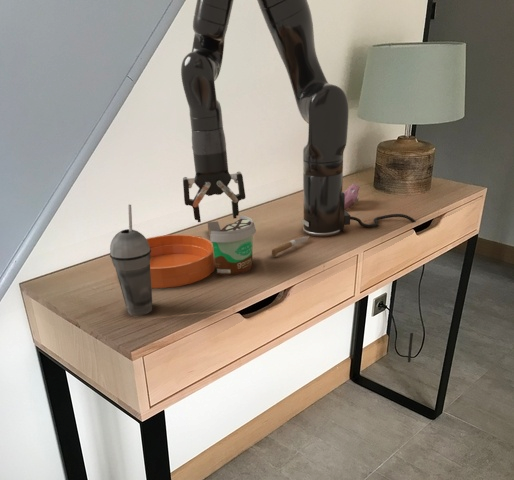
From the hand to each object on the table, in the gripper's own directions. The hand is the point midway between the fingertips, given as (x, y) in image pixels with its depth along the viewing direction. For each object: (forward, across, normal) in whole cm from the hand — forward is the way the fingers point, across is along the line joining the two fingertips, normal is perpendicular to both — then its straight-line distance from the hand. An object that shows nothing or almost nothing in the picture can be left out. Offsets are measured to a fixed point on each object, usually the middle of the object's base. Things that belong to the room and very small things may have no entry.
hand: (217, 219), depth 138 cm
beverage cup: (+5, -18, -36) cm, 40 cm away
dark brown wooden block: (+5, -1, -1) cm, 5 cm away
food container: (+5, +3, -21) cm, 22 cm away
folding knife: (+6, +16, -11) cm, 20 cm away
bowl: (+5, -12, -17) cm, 21 cm away
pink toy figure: (+6, +37, +17) cm, 41 cm away
